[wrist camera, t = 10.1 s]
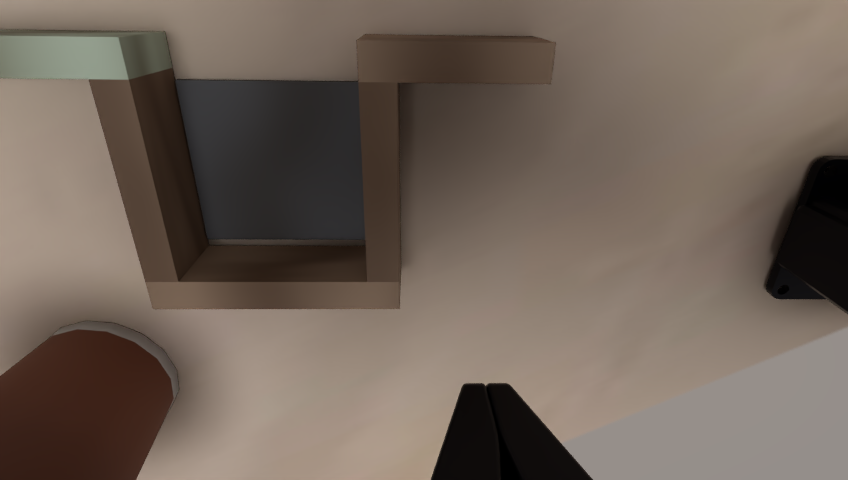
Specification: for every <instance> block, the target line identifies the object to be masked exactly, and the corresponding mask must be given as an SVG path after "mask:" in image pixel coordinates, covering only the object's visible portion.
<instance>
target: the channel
mask: <svg viewBox="0 0 848 480" xmlns="http://www.w3.org/2000/svg"><path fill="white" fill-rule="evenodd" d="M555 47H556V43H555V42H551V41H548V40H544V39H541V38H537V37H531V36H455V35H380V34H365V35H363V36H362V37H361V38H359V39H358V40H357V63H358V81H284V80H191V79H177V80H175V78H174V74H173V69H172V64H171V59H170V54H169V49H168V44H167V39H166V35H165V32H153V31H77V30H2V29H0V78H17V79H89V82H90V86H91V89H92V93H93V96H94V100H95V104H96V107H97V111H98V114H99V118H100V121H101V125H102V129H103V132H104V136H105V139H106V143H107V146H108V150H109V154H110V157H111V161H112V164H113V168H114V171H115V175H116V179H117V182H118V186H119V189H120V193H121V196H122V200H123V204H124V207H125V211H126V214H127V218H128V221H129V225H130V229H131V232H132V236H133V239H134V243H135V246H136V250H137V254H138V257H139V261H140V264H141V268H142V271H143V275H144V279H145V282H146V286H147V289H148V293H149V296H150V300H151V304H152V307H153V309H400V286H401V195H400V83H486V84H551V79H552V71H553V63H554V55H555ZM175 82H176V83H175ZM176 87H177V88H176ZM177 92H178V93H177ZM178 97H179V98H178ZM179 102H180V103H179ZM180 107H181V108H180ZM181 112H182V113H181ZM182 117H183V118H182ZM183 121H184V122H183ZM184 126H185V127H184ZM185 131H186V132H185ZM186 136H187V137H186ZM187 141H188V142H187ZM188 146H189V147H188ZM189 151H190V152H189ZM190 156H191V157H190ZM192 165H193V166H192ZM193 170H194V171H193ZM194 175H195V176H194ZM195 180H196V181H195ZM196 185H197V186H196ZM197 190H198V191H197ZM198 195H199V196H198ZM201 209H202V210H201ZM202 214H203V215H202ZM203 219H204V220H203ZM204 224H205V225H204ZM205 229H206V230H205ZM206 234H207V235H206ZM207 239H331V240H365V242H366V246H209V244H208V240H207Z"/></svg>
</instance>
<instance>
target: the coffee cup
mask: <svg viewBox="0 0 848 480" xmlns="http://www.w3.org/2000/svg"><path fill="white" fill-rule="evenodd" d="M178 391H179V384H178V376H177V370H176V368H175V367H174V365H173V364H172V362H171V361H170V359H169V358H168V356H167V355H166V353H165V351H164V350H163V349H161V348H160V347H159V346H158V345H156V344H155V343H154V342H152V341H151V340H150V339H148V338H147V337H146V336H144V335H143V334H142V333H139V332H136V331H134V330H131V329H128V328H126V327H123V326H120V325H118V324H115V323H107V322H94V321H83V322H79V323H76V324H72V325H68V326H64V327H61V328H60V329H59V330H58V331H56V332H55V333H54V334H53V335H52V336H51V337H50V338H48V339H47V340H46V341H45V342H44V343H42V344H41V345H40V346H38V347H37V348H36V349H35V350H33V351H32V352H31V353H29V354H28V355H27V356H26V357H24V358H23V359H22V360H20V361H19V362H18V363H16V364H15V365H14V366H13V367H11V368H10V369H9V370H7V371H6V372H5V373H4V374H2V375H1V376H0V480H136V479H137V476H138V474H139V472H140V470H141V468H142V466H143V464H144V462H145V459H146V457H147V455H148V453H149V451H150V449H151V447H152V445H153V442H154V440H155V438H156V436H157V434H158V432H159V430H160V428H161V425H162V423H163V421H164V419H165V417H166V415H167V413H168V412H169V410H170V408H171V406H172V404H173V402H174V400H175V398H176V395H177V393H178Z"/></svg>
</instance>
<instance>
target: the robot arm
mask: <svg viewBox="0 0 848 480" xmlns="http://www.w3.org/2000/svg"><path fill="white" fill-rule="evenodd" d="M829 166H830V167H829ZM827 167H829V170H828V171H827V172H826V173H824V171H825V170H826V168H827ZM782 285H783V286H782ZM781 286H782V287H781ZM779 287H781V288H780V289H779ZM766 290H767V292H768V293H769V294H771V295H772V296H773V297H774V298H776V299H827V300H829V301H830V302H831V303H833V304H834V305H836V306H837V307H838V308H840V309H841V310H843V311H844V312H845V313H847V314H848V156H826V157H822V158H820V159H818V160H817V161H816V162H815V163H814V164H813V165H812V167H811V169H810V172H809V174H808V177H807V180H806V182H805V185H804V188H803V190H802V193H801V196H800V198H799V201H798V203H797V206H796V209H795V211H794V214H793V217H792V219H791V222H790V224H789V227H788V230H787V232H786V235H785V238H784V240H783V243H782V245H781V248H780V251H779V253H778V256H777V259H776V261H775V264H774V267H773V269H772V272H771V274H770V277H769V280H768V282H767V285H766ZM431 480H593V479H592V478H591V477H590V476H589V475H588V474H587V472H586V471H585V470H584V469H583V468H582V467H581V466H580V464H579V463H578V462H577V461H576V460H575V459H574V458H573V457H572V455H571V454H570V453H569V452H568V451H567V450H566V449H565V447H564V446H563V445H562V444H561V443H560V442H559V440H558V439H557V438H556V437H555V436H554V435H553V433H552V432H551V431H550V430H549V429H548V428H547V427H546V425H545V424H544V423H543V422H542V421H541V420H540V419H539V417H538V416H537V415H536V414H535V413H534V412H533V411H532V409H531V408H530V407H529V406H528V405H527V404H526V403H525V401H524V400H523V399H522V398H521V397H520V396H519V395H518V393H517V392H516V391H515V390H514V389H513V388H512V387H511V386H510V385H509V384H507V383H489V384H487V385H486V386H485V385H484V384H482V383H466V384H464V385H463V386H462V388H461V391H460V394H459V397H458V400H457V403H456V406H455V409H454V412H453V415H452V418H451V421H450V424H449V427H448V430H447V433H446V436H445V439H444V442H443V445H442V448H441V451H440V454H439V457H438V460H437V463H436V466H435V469H434V472H433V474H432V477H431Z"/></svg>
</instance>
